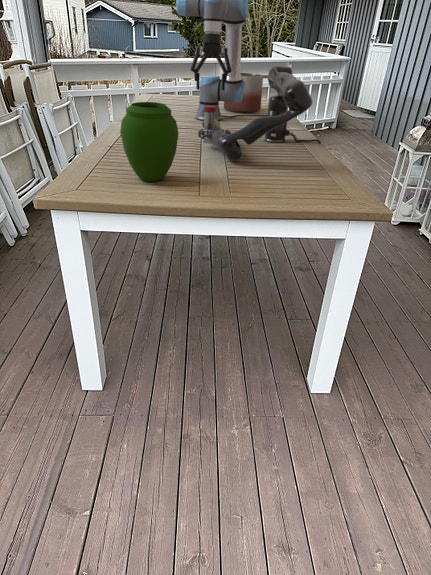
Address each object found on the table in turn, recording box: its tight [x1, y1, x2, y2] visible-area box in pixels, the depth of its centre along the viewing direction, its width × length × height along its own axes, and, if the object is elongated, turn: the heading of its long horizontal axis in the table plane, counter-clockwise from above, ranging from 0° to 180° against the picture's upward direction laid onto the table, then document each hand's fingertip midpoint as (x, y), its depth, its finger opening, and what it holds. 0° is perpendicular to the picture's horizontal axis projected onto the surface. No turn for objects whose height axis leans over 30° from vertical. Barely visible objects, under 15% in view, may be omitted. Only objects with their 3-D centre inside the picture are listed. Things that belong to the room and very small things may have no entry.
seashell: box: [202, 118, 221, 129], centre depth 215 cm, size 10×6×8 cm, turn 97°
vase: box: [119, 101, 179, 182], centre depth 140 cm, size 20×20×24 cm
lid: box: [204, 105, 216, 112], centre depth 191 cm, size 6×6×2 cm
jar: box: [203, 112, 215, 144], centre depth 195 cm, size 5×5×16 cm
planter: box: [223, 72, 264, 114], centre depth 276 cm, size 25×25×22 cm
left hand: (210, 89), depth 187 cm, fingers open, 11 cm apart
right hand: (210, 130), depth 192 cm, fingers open, 8 cm apart
